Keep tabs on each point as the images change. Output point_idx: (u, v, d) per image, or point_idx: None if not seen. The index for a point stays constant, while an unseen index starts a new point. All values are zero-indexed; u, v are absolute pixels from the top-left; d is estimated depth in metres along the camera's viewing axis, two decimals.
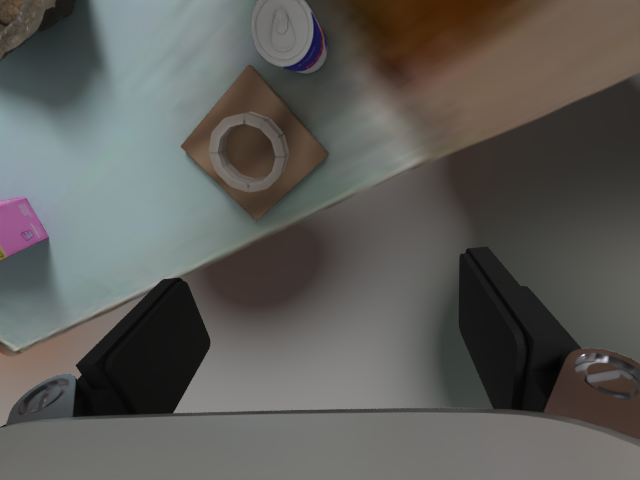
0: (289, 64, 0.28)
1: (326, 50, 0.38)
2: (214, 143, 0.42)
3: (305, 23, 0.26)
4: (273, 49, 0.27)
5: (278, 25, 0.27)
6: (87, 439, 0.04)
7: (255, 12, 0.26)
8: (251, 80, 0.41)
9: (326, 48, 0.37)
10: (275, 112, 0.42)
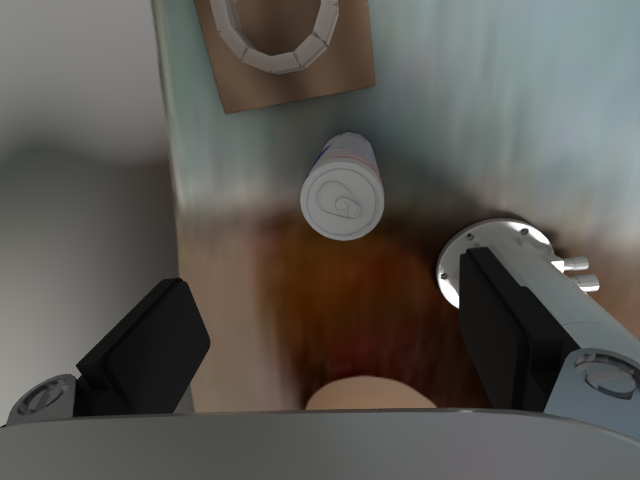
0: (303, 187, 0.20)
1: None
2: None
3: (329, 228, 0.21)
4: (329, 179, 0.20)
5: (346, 201, 0.21)
6: (87, 439, 0.04)
7: (376, 186, 0.20)
8: (358, 76, 0.29)
9: None
10: (307, 80, 0.30)
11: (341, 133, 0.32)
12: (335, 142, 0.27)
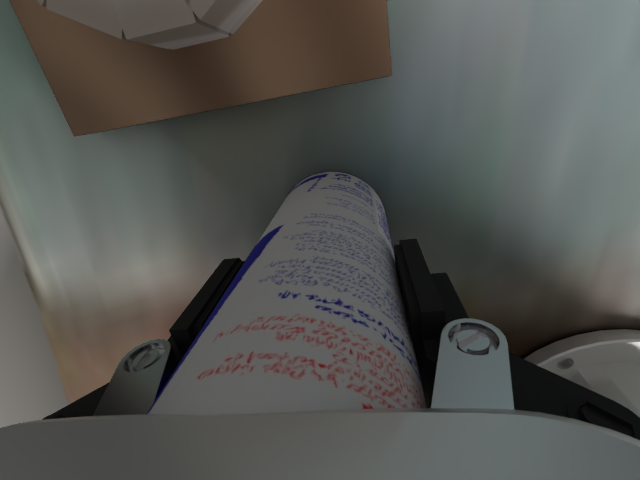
0: None
1: None
2: None
3: None
4: None
5: None
6: (87, 439, 0.04)
7: None
8: (353, 53, 0.13)
9: None
10: (238, 63, 0.13)
11: (318, 175, 0.15)
12: (291, 221, 0.10)
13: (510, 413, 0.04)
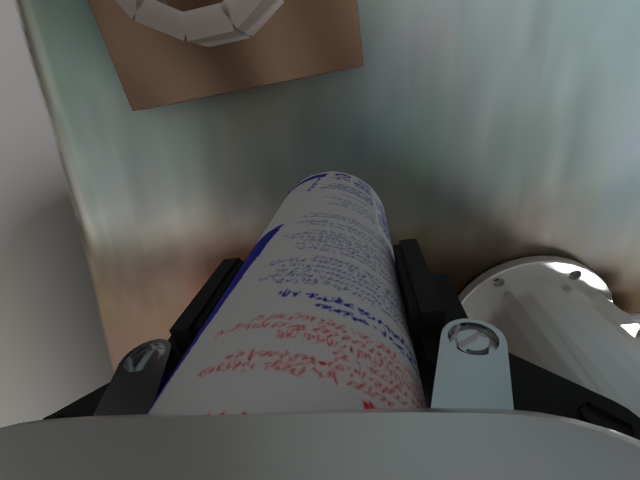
0: None
1: None
2: None
3: None
4: None
5: None
6: (87, 439, 0.04)
7: None
8: (336, 49, 0.18)
9: None
10: (256, 57, 0.19)
11: (318, 175, 0.15)
12: (291, 220, 0.10)
13: (510, 413, 0.04)
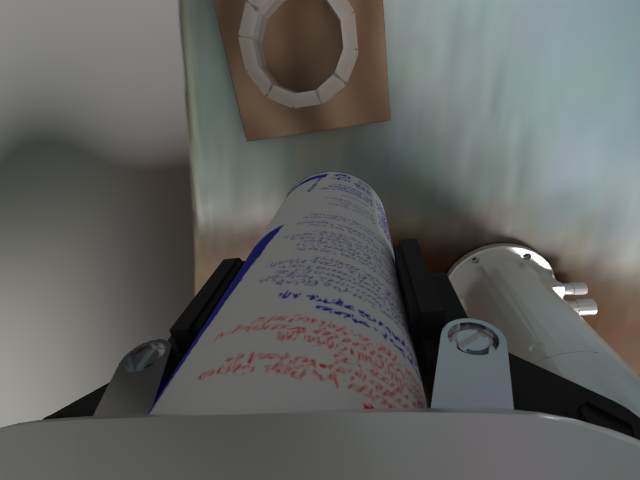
0: None
1: None
2: (339, 3, 0.25)
3: None
4: None
5: None
6: (87, 439, 0.04)
7: None
8: (374, 111, 0.31)
9: None
10: (326, 113, 0.32)
11: (318, 175, 0.15)
12: (291, 221, 0.10)
13: (510, 413, 0.04)
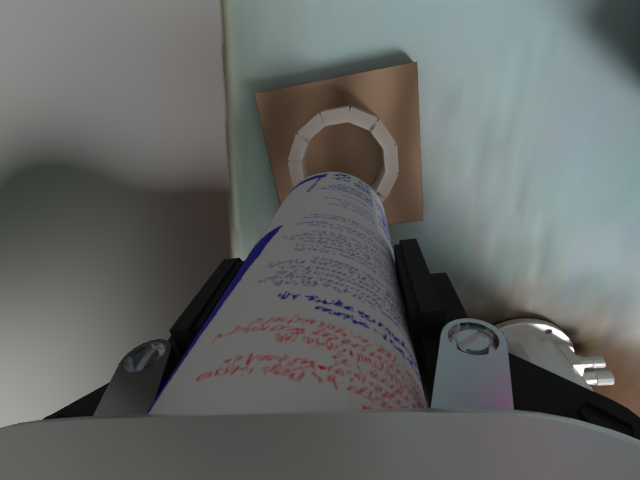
0: None
1: None
2: (383, 136, 0.28)
3: None
4: None
5: None
6: (87, 439, 0.04)
7: None
8: (409, 212, 0.34)
9: None
10: None
11: (317, 175, 0.15)
12: (290, 221, 0.10)
13: (510, 413, 0.04)
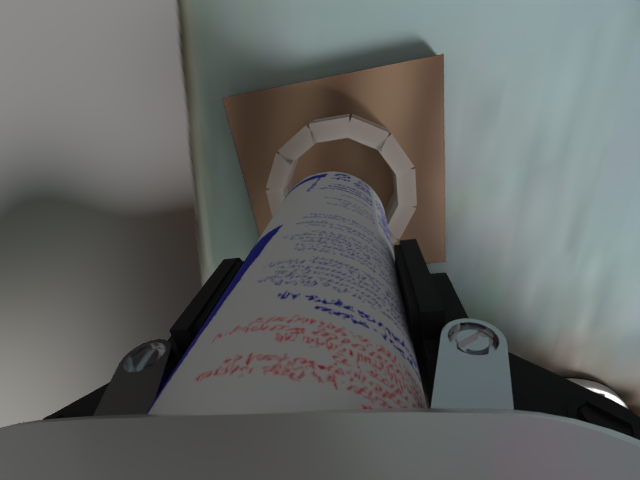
0: None
1: None
2: (395, 158, 0.20)
3: None
4: None
5: None
6: (87, 439, 0.04)
7: None
8: (427, 252, 0.26)
9: None
10: None
11: (317, 175, 0.15)
12: (290, 221, 0.10)
13: (510, 413, 0.04)
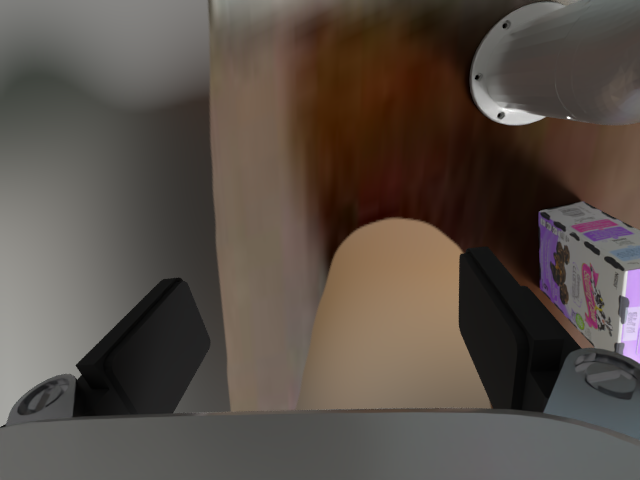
0: None
1: None
2: None
3: None
4: None
5: None
6: (87, 439, 0.04)
7: None
8: None
9: None
10: None
11: None
12: None
13: (510, 413, 0.04)
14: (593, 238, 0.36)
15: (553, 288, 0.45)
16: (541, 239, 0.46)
